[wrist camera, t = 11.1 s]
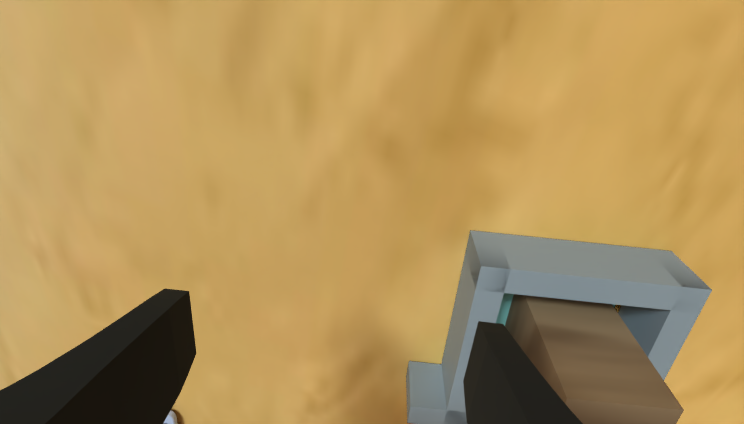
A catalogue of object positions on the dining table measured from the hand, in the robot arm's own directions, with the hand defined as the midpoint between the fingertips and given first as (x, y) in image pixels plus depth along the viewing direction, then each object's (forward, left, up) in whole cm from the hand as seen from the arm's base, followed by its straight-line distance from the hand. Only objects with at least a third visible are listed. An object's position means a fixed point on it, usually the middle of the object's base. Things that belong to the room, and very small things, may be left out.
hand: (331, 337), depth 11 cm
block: (-6, -10, -10) cm, 15 cm away
